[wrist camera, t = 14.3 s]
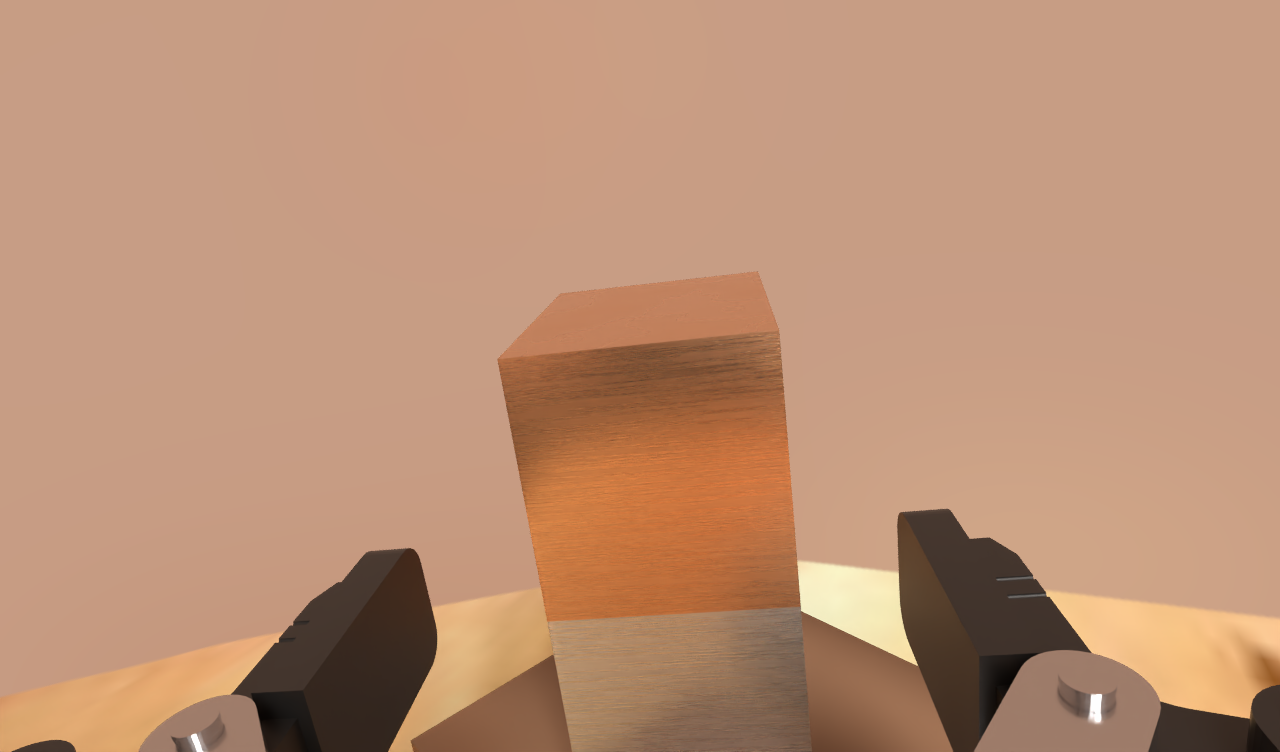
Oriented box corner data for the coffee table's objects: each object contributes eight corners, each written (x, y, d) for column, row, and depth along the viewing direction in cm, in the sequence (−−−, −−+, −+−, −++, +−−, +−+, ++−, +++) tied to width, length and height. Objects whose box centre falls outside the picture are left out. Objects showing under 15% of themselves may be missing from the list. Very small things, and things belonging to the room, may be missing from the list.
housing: (588, 834, 17) (497, 359, 14) (619, 657, 22) (560, 293, 19) (817, 829, 16) (778, 329, 13) (789, 648, 22) (757, 271, 19)
